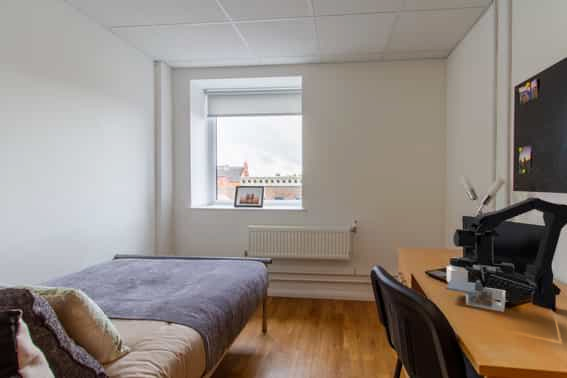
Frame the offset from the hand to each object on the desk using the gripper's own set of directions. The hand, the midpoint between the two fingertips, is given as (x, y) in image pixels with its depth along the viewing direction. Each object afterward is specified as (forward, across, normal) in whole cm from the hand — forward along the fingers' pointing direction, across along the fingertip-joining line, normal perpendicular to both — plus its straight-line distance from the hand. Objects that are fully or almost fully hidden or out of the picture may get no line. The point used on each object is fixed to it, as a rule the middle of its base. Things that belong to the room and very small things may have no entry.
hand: (484, 287), depth 124 cm
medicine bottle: (+7, +12, -22) cm, 26 cm away
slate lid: (+1, +7, 0) cm, 7 cm away
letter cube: (+6, -1, +1) cm, 6 cm away
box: (+7, -1, 0) cm, 7 cm away
